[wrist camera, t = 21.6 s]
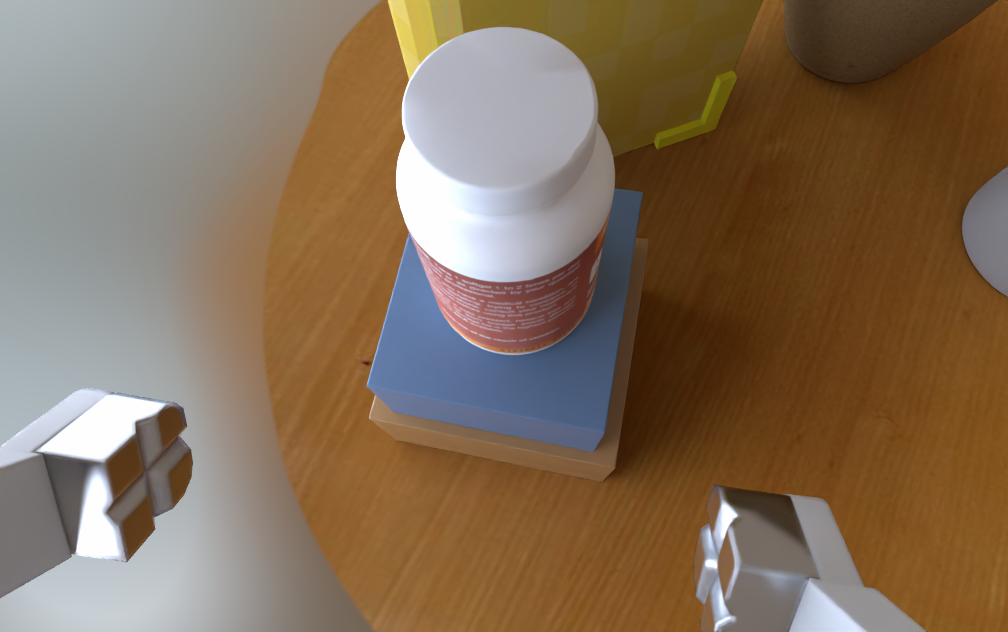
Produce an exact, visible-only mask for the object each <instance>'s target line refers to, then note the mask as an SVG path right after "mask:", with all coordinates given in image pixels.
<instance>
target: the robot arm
mask: <svg viewBox="0 0 1008 632" xmlns="http://www.w3.org/2000/svg"><path fill="white" fill-rule="evenodd" d="M186 427H187V423H186V418H185V414H184V409H183V408H182V407H181V406H179V405H178V404H177V403H174V402H169V401H163V400H157V399H151V398H146V397H140V396H134V395H129V394H123V393H114V392H109V391H103V390H97V389H91V388H88V389H81V390H77V391H75V392H74V393H73V394H71V395H70V396H68V397H67V398H66V399H65V400H63V401H62V402H60V403H59V404H57V405H56V406H55V407H53V408H52V409H51V410H49V411H48V412H47V413H45V414H44V415H43V416H41V417H40V418H38V419H37V420H36V421H34V422H33V423H31V424H30V425H29V426H28V427H26V428H25V429H23V430H22V431H20V432H19V433H18V434H16V435H15V436H14V437H12V438H11V439H10V440H8V441H7V442H5V443H4V444H3V445H1V446H0V598H2V597H3V596H5V595H7V594H8V593H10V592H12V591H14V590H15V589H17V588H19V587H21V586H22V585H24V584H26V583H27V582H29V581H31V580H33V579H35V578H36V577H38V576H40V575H41V574H43V573H45V572H47V571H48V570H50V569H52V568H54V567H55V566H57V565H59V564H60V563H62V562H64V561H66V560H67V559H69V558H70V557H72V556H71V554H74V555H81V556H88V557H96V558H102V559H109V560H116V561H123V562H128V560H129V559H130V558H131V557H132V556H133V554H134V553H135V552H136V551H137V550H138V549H139V548H140V546H141V545H142V544H143V543H144V542H145V541H146V539H147V538H148V537H149V536H150V535H151V534H152V532H153V531H154V530H155V517H156V516H158V515H160V514H163V513H165V512H167V511H169V510H171V509H173V508H174V507H175V505H176V504H177V503H178V502H179V500H180V499H181V498H182V497H183V495H184V494H185V491H186V489H187V486H188V484H189V482H190V479H191V476H192V465H193V460H192V454H191V449H190V448H189V447H188V445H187V444H186V443H185V442H184V441H183V440H182V438H181V437H180V435H181V434H182V432H183V431H184V430H185V428H186ZM706 508H707V514H708V520H709V523H708V524H707V525H706V526H704V527H703V528H701V529H700V531H699V535H698V539H697V544H696V548H695V558H694V584H695V592H696V596H697V598H698V599H699V600H700V601H701V602H702V603H703V604H704V609H703V612H702V616H701V620H700V628H701V632H927V631H926V630H924V629H923V628H922V627H921V626H920V625H918V624H917V623H916V622H915V621H914V620H912V619H911V618H910V617H909V616H908V615H906V614H905V613H904V612H903V611H902V610H901V609H899V608H898V607H897V606H896V605H895V604H893V603H892V602H891V601H890V600H889V599H887V598H886V597H885V596H884V595H883V594H882V593H880V592H879V591H878V590H877V589H873V588H867V587H865V586H864V584H863V582H862V579H861V577H860V575H859V573H858V570H857V568H856V566H855V564H854V561H853V559H852V557H851V555H850V552H849V550H848V548H847V545H846V543H845V541H844V539H843V536H842V534H841V532H840V530H839V527H838V525H837V523H836V520H835V518H834V516H833V514H832V511H831V509H830V507H829V505H828V503H827V502H826V501H825V500H823V499H822V498H815V497H807V496H799V495H791V494H785V495H782V494H775V493H769V492H762V491H755V490H748V489H741V488H734V487H728V486H721V485H714V486H713V488H712V490H711V492H710V494H709V498H708V501H707V505H706Z"/></svg>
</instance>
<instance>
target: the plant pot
mask: <svg viewBox="0 0 1008 632" xmlns="http://www.w3.org/2000/svg"><path fill="white" fill-rule="evenodd" d="M996 1H998V0H784V25H785V37H786V41H787V44H788V47H789V49H790V51H791V53H792V54H793V55H794V57H795V58H796V59H797V60H798V62H799V63H801V64H802V65H803V66H804V67H805V68H807V69H808V70H810V71H811V72H813V73H814V74H817V75H819V76H821V77H823V78H825V79H829V80H832V81H837V82H843V83H861V82H867V81H872V80H875V79H878V78H880V77H882V76H884V75H886V74H888V73H890V72H891V71H893V70H895V69H897V68H898V67H900V66H902V65H904V64H905V63H907V62H909V61H910V60H912V59H913V58H915V57H917V56H918V55H920V54H922V53H923V52H925V51H926V50H928V49H929V48H931V47H933V46H934V45H936V44H937V43H939V42H940V41H942V40H943V39H945V38H946V37H948V36H949V35H951V34H952V33H954V32H955V31H957V30H958V29H959V28H961V27H962V26H964V25H965V24H966V23H968V22H969V21H971V20H972V19H973V18H975V17H976V16H977V15H979V14H980V13H981V12H983V11H984V10H986V9H987V8H988V7H990V6H991V5H992V4H994V3H995V2H996Z"/></svg>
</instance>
